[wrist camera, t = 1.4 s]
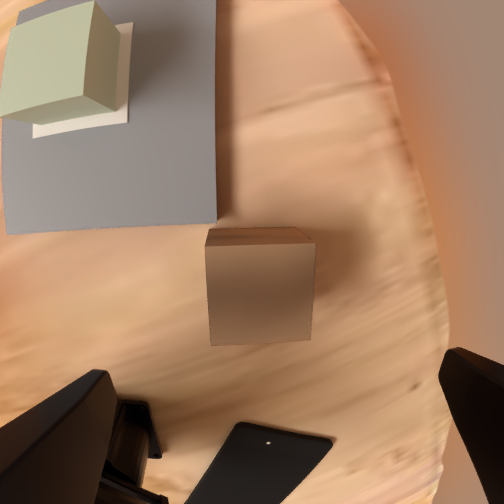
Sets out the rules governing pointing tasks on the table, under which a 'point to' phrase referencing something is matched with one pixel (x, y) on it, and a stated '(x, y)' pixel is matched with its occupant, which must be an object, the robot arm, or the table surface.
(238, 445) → the cell phone
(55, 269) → the table surface
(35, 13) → the building board
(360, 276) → the table surface
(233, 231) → the walnut cube
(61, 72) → the sage cube
